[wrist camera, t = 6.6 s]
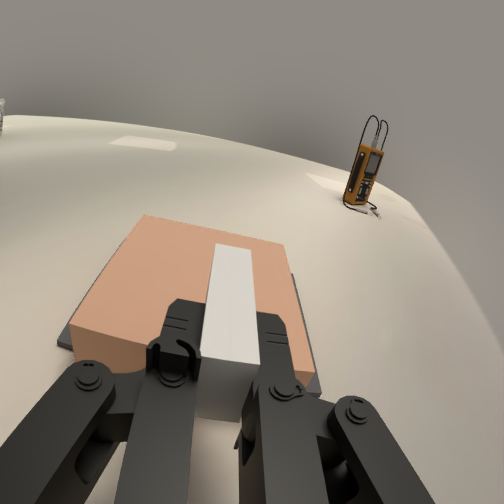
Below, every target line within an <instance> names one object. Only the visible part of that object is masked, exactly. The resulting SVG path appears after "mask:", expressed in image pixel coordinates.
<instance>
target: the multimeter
mask: <svg viewBox="0 0 504 504" xmlns="http://www.w3.org/2000/svg"><path fill="white" fill-rule="evenodd" d="M371 117H375V118H376V119H377V117H376V116H374V115H372V116H371ZM371 117H370V118H371ZM370 118H369V119H368V121H367V123H368V122H369V120H370ZM377 121H378V119H377ZM382 121H384V120H381V123H382ZM384 122H385V123H386V124H387V122H386V121H384ZM367 123H366V125H365V128H366V126H367ZM365 128H364V131H363V134H362V137H361V140H360V144H359V147H358V151H357V154H356V158H355V161H354V164H353V167H352V170H351V173H350V177H349V180H348V183H347V186H346V189H345V192H344V195H343V204H344V205H345V206H346V207H347V208H349V209H353V210H356V211H359V212H362V213H366V214H367V213H369V212H368V211H364V210H360V209H354V208H350V207H348V206H347V205H346V204H345V203H344V201H346V202H348V203H350V204H352V205H354V204H363V205H364V204H366V203H367V202H368V201H367V200H368V197H369V195H370V192H371V189H372V186H373V184H374V181H375V178H376V176H377V173H378V170H379V167H380V164H381V161H382V158H383V155H384V152H383V151H382V148H383V144H384V142H385V139H386V136H385V139H384V141H383V144H382V148H381V150H378V149H376V145H377V140H378V137H379V133H380V130H379V133H378V136H377V132H378V129H379V121H378V129H377V132H376V135H375V137H374V140H373V142H372V145H371V147H369V146H367V145H364V144H361V141H362V138H363V135H364V132H365ZM380 129H381V124H380ZM387 132H388V124H387ZM386 135H387V133H386ZM376 137H377V138H376ZM375 140H376V141H375ZM368 203H369V204H371V203H370V202H368ZM371 205H373V204H371ZM373 206H374V207H376V206H375V205H373ZM371 209H372V210H373V209H377V207H376V208H373V207H371ZM373 212H374V213H375V214H376V215H377V216H379V214H378V213H377V212H376V211H375V210H373ZM369 214H372V213H369ZM375 214H373V215H375ZM379 217H380V216H379ZM380 218H381V217H380ZM381 219H382V218H381Z"/></svg>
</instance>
